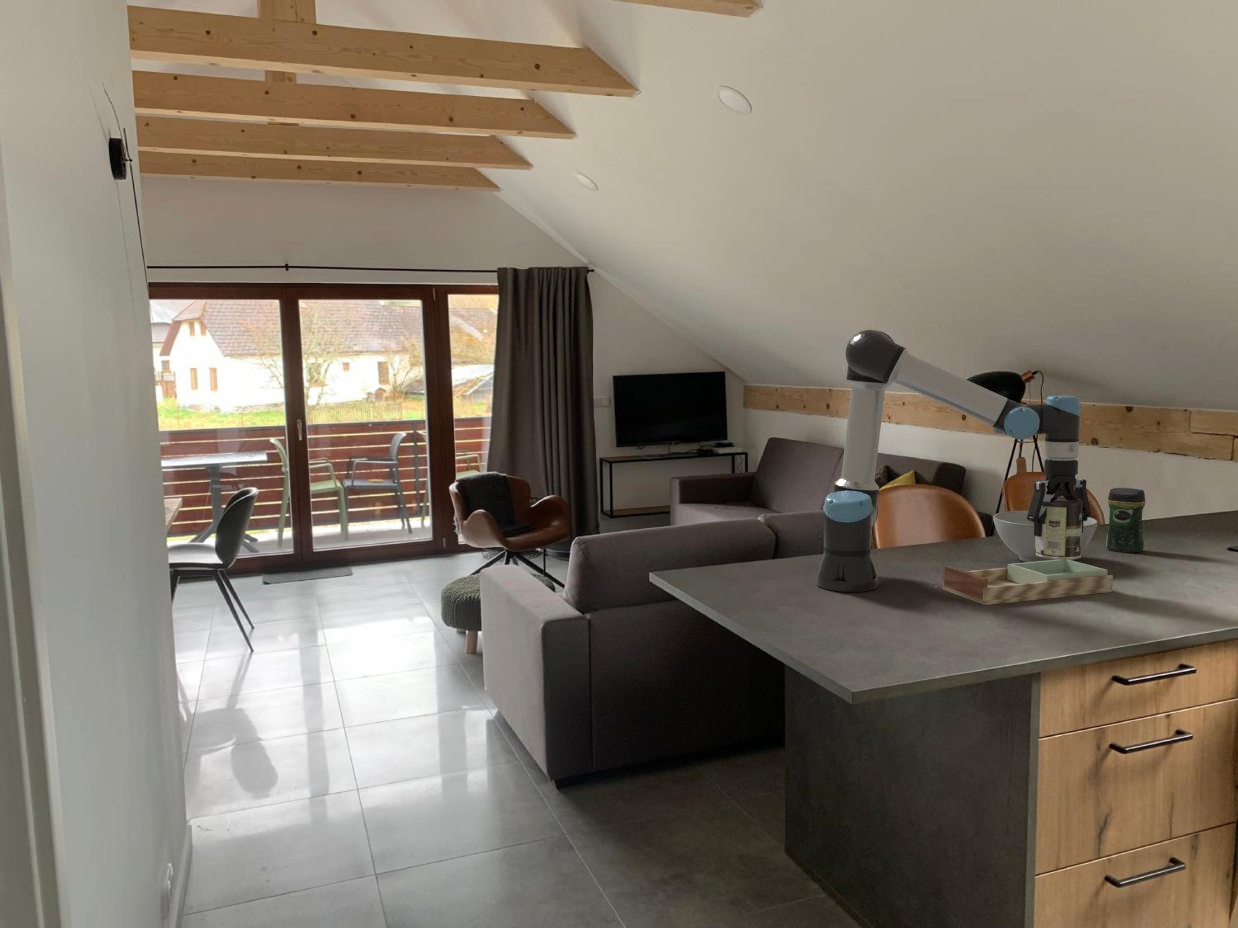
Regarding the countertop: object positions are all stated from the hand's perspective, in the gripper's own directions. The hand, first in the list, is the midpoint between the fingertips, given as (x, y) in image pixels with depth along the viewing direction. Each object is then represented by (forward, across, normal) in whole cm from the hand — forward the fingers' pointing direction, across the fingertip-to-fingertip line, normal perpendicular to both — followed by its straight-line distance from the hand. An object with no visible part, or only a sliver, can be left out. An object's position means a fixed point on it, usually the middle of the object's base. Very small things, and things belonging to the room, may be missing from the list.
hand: (1058, 547), depth 230 cm
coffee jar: (+10, +51, +30) cm, 60 cm away
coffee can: (+2, 0, 0) cm, 2 cm away
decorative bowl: (+10, +19, +27) cm, 35 cm away
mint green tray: (+9, 0, 0) cm, 9 cm away
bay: (+10, -9, 0) cm, 14 cm away
